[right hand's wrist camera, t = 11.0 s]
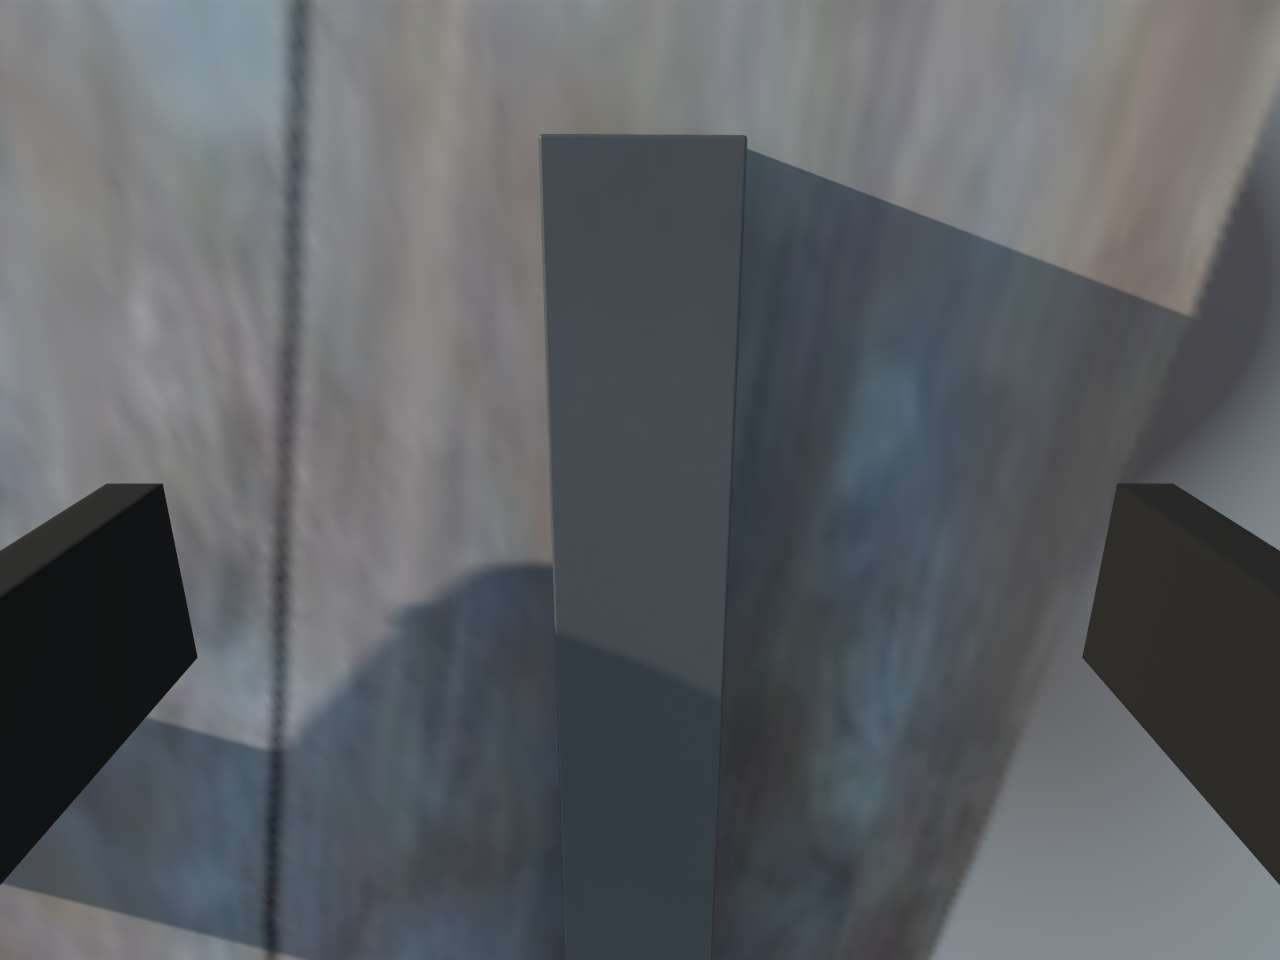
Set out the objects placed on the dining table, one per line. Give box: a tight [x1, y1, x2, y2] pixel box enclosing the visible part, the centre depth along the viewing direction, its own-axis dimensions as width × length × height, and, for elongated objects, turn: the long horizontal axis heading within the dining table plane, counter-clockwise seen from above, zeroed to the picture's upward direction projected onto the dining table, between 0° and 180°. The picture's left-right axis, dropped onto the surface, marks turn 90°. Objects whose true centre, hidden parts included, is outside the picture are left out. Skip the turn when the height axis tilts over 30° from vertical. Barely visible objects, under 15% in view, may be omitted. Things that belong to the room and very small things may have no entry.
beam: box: [539, 134, 747, 960], centre depth 37 cm, size 58×6×8 cm, turn 0°
